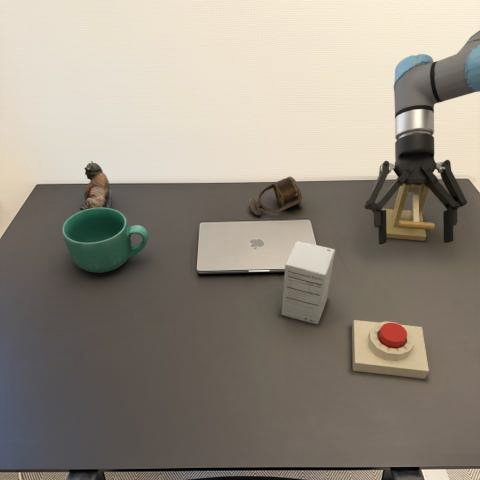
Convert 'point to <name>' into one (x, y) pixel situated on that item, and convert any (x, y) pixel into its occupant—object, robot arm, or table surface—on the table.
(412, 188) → the lever
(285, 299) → the white packaging box
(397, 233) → the wooden lever device
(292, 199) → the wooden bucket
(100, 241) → the mug
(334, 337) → the table surface
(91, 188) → the brown figurine
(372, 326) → the button base
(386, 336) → the button
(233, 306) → the table surface
